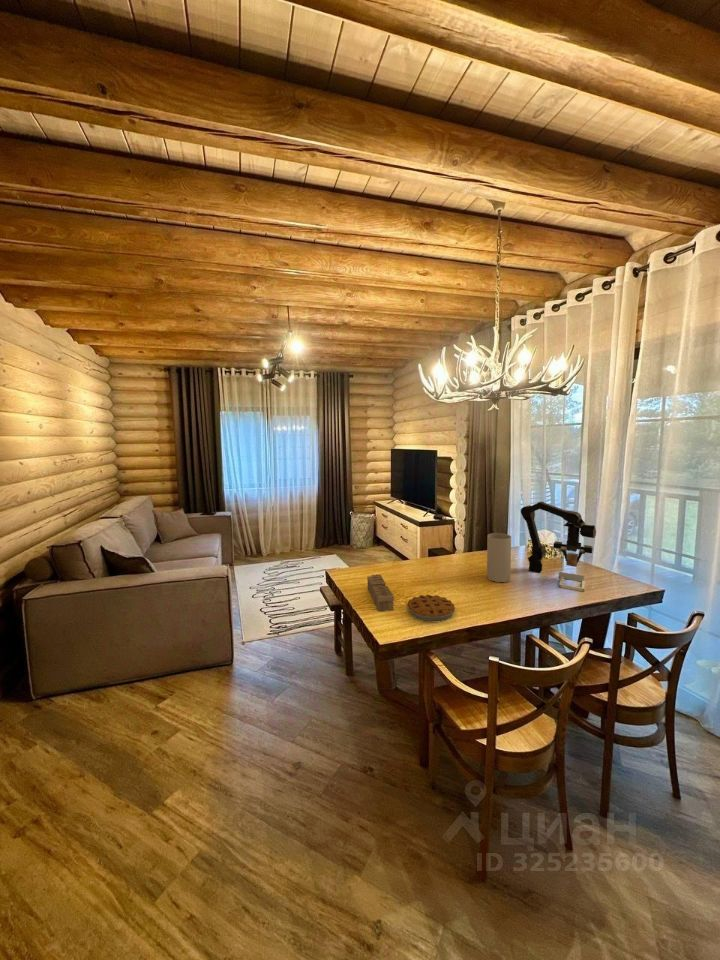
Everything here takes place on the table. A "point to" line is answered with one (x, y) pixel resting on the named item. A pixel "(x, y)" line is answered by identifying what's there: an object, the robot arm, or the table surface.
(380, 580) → the block tower
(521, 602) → the table surface
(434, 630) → the table surface
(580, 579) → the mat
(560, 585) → the light wooden flat tray
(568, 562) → the block
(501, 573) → the cylinder vase
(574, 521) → the robot arm
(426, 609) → the pie
